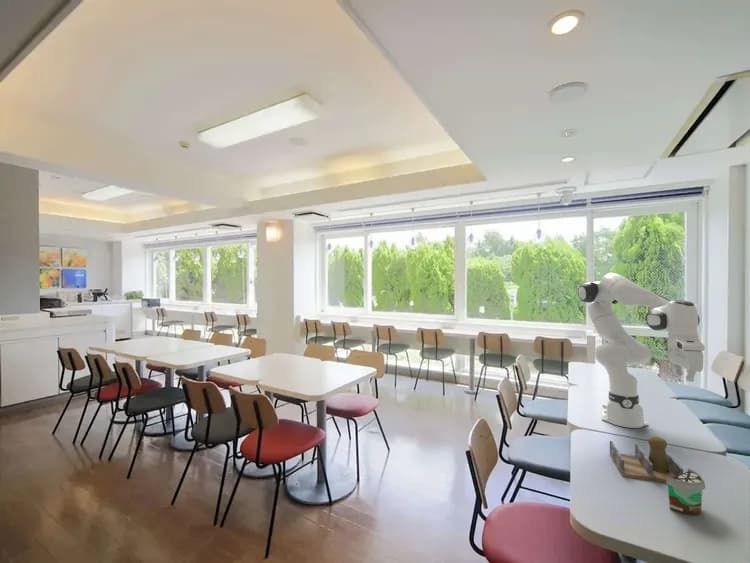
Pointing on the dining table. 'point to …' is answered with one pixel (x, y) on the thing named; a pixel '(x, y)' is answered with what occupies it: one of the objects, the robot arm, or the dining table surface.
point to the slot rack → (642, 465)
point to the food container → (686, 492)
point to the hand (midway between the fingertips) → (684, 377)
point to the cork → (658, 454)
